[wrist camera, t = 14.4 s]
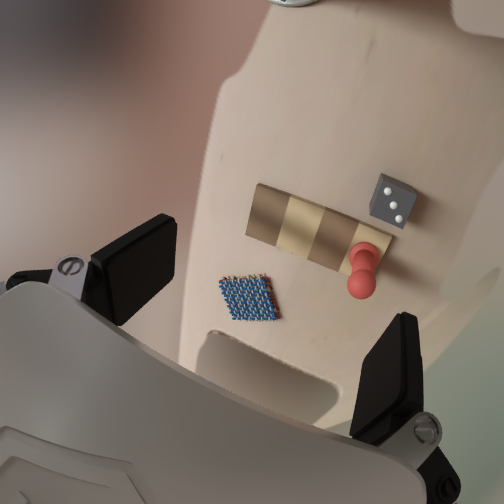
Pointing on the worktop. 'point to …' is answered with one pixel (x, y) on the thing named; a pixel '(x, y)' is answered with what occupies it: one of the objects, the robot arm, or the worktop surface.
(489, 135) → the worktop surface
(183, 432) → the robot arm
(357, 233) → the board
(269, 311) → the woven mat
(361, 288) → the pawn
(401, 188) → the die
